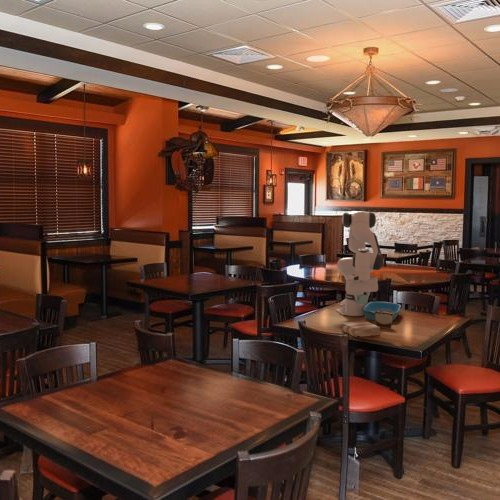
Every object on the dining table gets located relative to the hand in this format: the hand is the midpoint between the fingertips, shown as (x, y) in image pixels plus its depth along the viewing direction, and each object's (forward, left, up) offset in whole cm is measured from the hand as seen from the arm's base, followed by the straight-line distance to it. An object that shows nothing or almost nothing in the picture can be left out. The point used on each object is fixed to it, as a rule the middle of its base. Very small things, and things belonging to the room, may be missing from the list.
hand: (361, 299), depth 326 cm
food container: (-8, +22, -20) cm, 31 cm away
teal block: (0, 0, -2) cm, 2 cm away
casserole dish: (-33, +36, -20) cm, 53 cm away
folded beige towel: (0, 0, -20) cm, 20 cm away
